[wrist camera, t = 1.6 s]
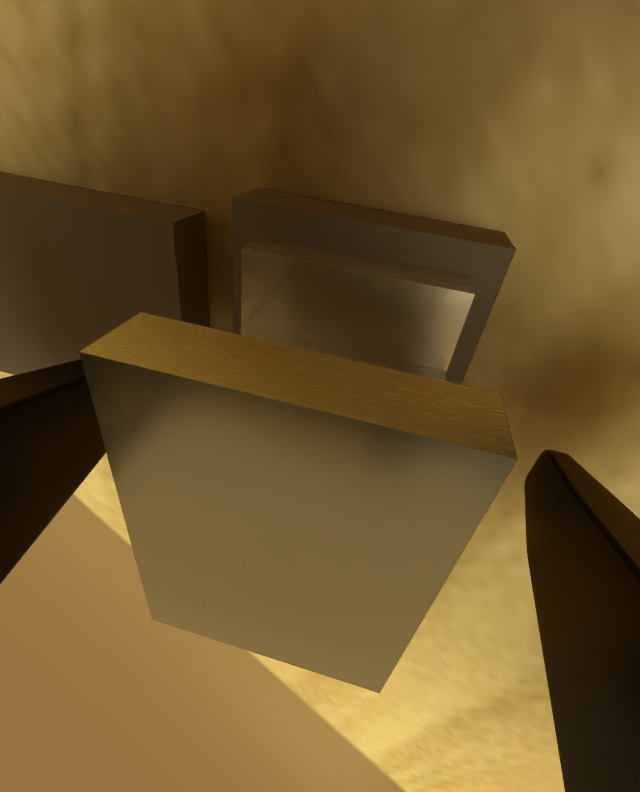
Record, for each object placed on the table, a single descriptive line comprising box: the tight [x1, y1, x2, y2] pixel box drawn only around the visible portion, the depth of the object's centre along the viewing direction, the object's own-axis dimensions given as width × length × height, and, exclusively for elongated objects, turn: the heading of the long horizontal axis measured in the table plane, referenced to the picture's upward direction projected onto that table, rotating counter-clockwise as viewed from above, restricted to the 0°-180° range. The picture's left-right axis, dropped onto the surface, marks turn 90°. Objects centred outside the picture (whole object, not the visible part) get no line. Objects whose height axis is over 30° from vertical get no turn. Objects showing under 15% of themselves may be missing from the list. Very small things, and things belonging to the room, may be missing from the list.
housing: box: [79, 235, 517, 693], centre depth 8 cm, size 4×6×6 cm
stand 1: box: [0, 172, 209, 375], centre depth 12 cm, size 7×6×2 cm
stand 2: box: [233, 188, 516, 384], centre depth 11 cm, size 6×7×2 cm
